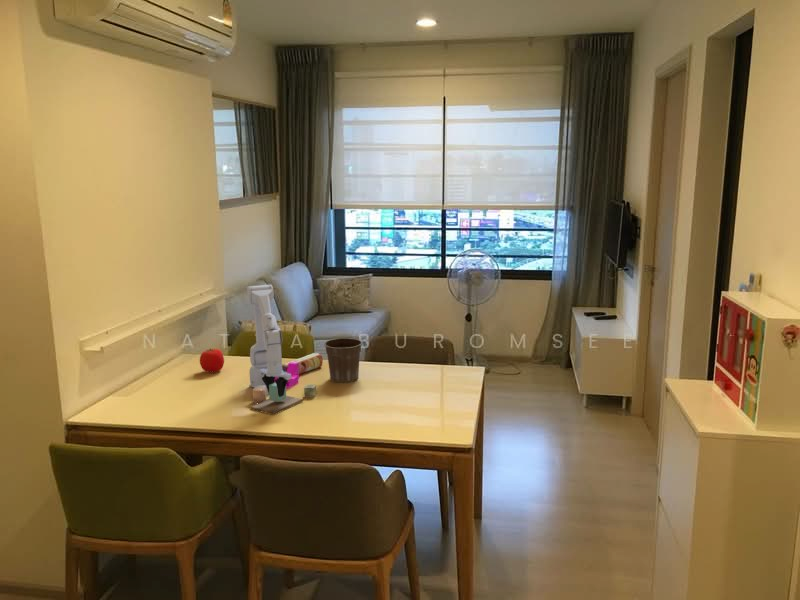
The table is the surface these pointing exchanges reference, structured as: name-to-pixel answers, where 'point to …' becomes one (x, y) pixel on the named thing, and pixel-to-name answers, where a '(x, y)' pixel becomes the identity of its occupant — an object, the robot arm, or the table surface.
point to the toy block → (292, 374)
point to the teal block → (275, 393)
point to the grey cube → (263, 387)
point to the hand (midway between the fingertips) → (276, 394)
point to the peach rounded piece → (259, 394)
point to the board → (276, 405)
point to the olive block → (310, 390)
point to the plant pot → (343, 358)
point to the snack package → (306, 363)
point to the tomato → (212, 360)
